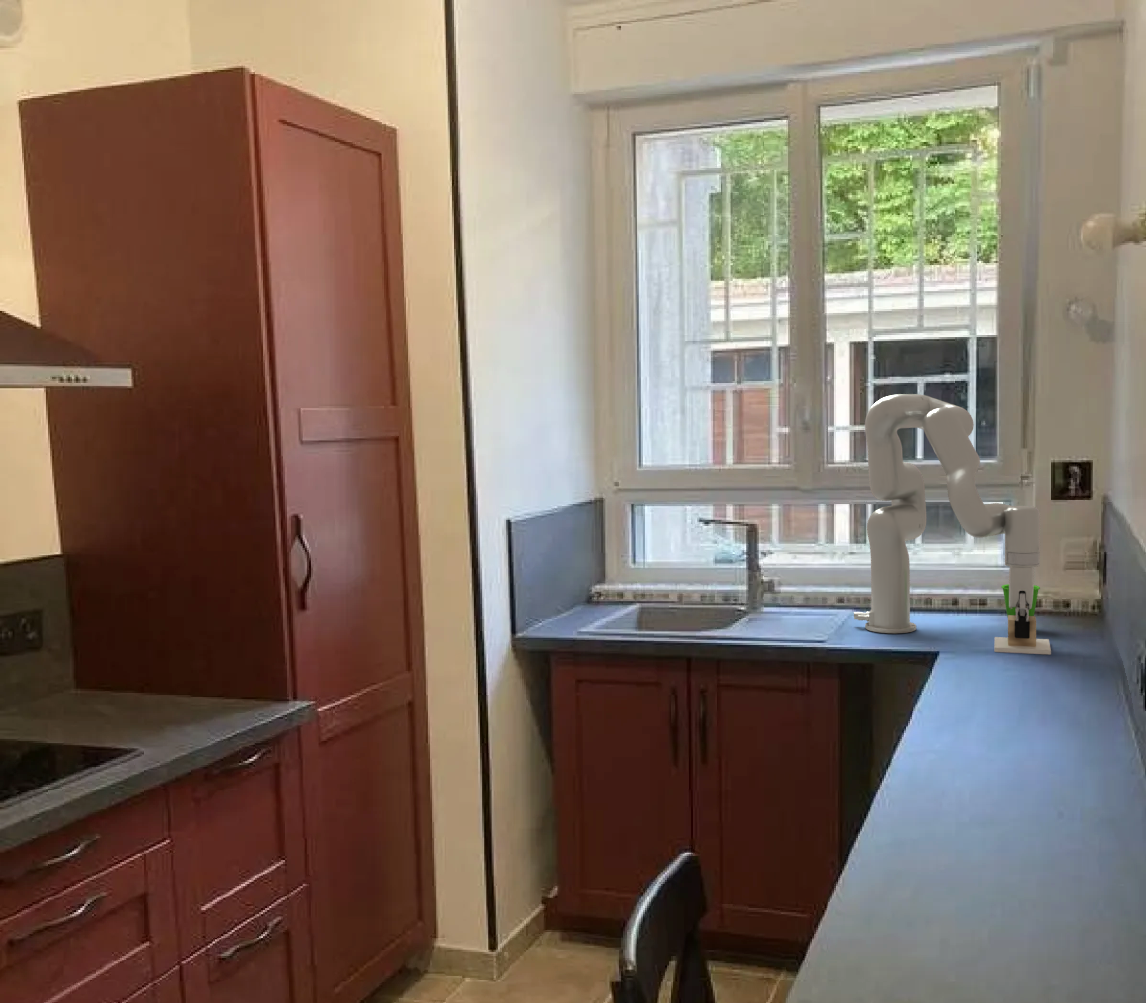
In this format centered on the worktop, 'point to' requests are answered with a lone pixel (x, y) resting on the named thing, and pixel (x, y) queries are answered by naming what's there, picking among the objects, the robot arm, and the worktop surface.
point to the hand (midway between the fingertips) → (1021, 634)
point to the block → (1021, 641)
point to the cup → (1012, 611)
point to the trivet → (1022, 647)
